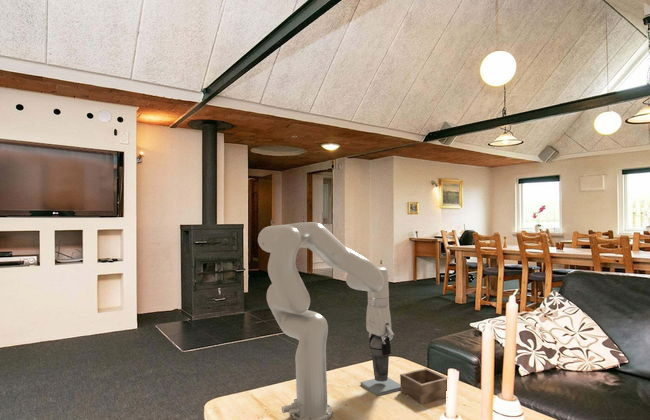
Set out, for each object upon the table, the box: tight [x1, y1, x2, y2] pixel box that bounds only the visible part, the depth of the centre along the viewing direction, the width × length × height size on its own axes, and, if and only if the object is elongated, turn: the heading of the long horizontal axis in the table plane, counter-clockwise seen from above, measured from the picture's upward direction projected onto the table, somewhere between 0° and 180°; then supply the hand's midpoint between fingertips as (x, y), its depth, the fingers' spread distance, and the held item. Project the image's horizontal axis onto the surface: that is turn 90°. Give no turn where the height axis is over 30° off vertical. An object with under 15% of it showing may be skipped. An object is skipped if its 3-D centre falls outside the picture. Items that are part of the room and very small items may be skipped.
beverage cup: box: [369, 335, 390, 382], centre depth 146 cm, size 7×7×20 cm
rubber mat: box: [360, 377, 401, 397], centre depth 146 cm, size 11×11×1 cm
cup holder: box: [399, 367, 448, 405], centre depth 138 cm, size 11×11×6 cm
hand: (380, 351), depth 146 cm, fingers closed on beverage cup, 7 cm apart
